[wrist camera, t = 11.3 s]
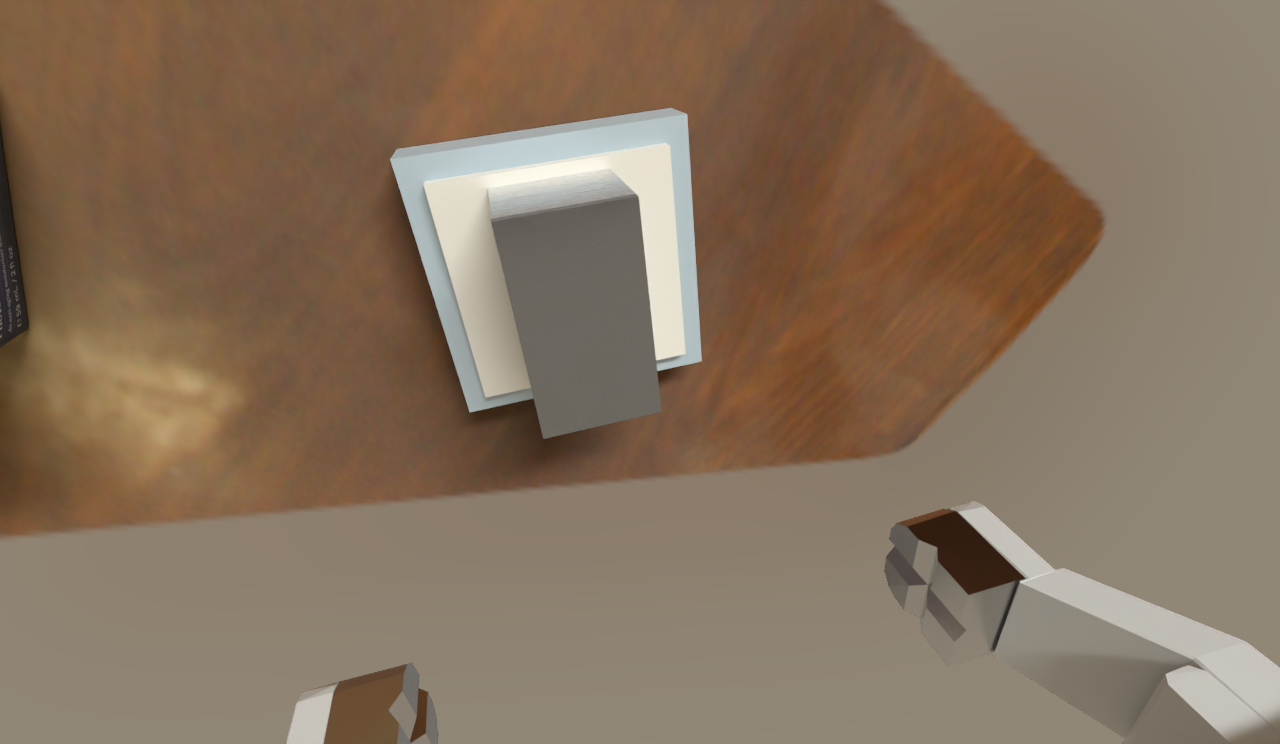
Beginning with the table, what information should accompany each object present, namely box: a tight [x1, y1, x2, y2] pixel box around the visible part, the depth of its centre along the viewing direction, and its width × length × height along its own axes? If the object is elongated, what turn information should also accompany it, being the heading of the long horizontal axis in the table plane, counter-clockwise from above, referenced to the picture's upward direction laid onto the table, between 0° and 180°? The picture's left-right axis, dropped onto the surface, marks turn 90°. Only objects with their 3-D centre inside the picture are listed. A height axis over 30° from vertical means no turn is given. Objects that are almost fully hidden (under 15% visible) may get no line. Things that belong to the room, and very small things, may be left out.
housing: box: [488, 168, 661, 439], centre depth 24 cm, size 9×5×5 cm, turn 7°
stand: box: [390, 108, 702, 412], centre depth 27 cm, size 12×12×3 cm
